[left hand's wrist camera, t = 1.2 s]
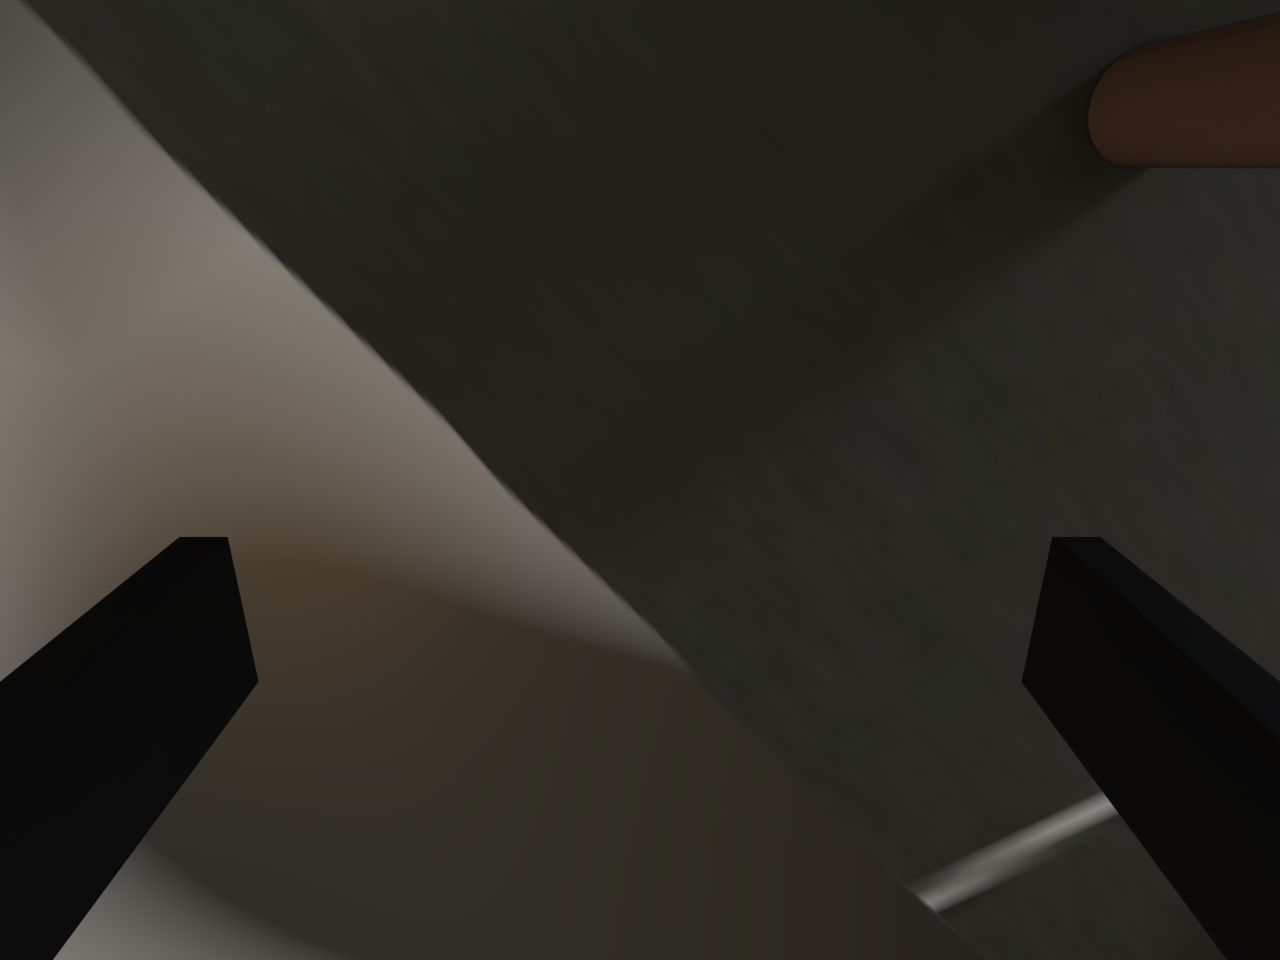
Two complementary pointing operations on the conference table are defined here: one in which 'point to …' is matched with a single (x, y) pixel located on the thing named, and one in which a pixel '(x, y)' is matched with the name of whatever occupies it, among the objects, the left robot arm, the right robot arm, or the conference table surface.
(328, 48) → the conference table surface
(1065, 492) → the conference table surface
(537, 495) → the conference table surface
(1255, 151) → the jar
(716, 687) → the conference table surface
